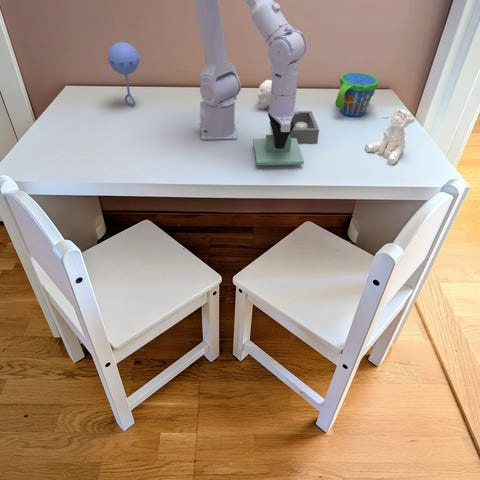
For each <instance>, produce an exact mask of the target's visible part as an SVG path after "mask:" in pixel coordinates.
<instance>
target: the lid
mask: <svg viewBox="0 0 480 480" xmlns="http://www.w3.org/2000/svg"><path fill="white" fill-rule="evenodd" d="M252 144H253V149H254V154H255V162H256V166H272V165H274V166H275V165H278V166H279V165H280V166H281V165H285V166H286V165H304V163H305V160H304V158H303V155H302V152H301V149H300V146H299V145H300V144H298V141H297V138H291V136H290V134H289V136H288V138H287V141H286V144H285V147H284V148H283V149H276V148H275V144H274V135H273V134H265V138H252Z"/></svg>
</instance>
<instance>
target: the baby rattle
mask: <svg viewBox="0 0 480 480" xmlns="http://www.w3.org/2000/svg"><path fill="white" fill-rule="evenodd" d="M107 61H108V64H109V65H110V67H111V68H112V69H113V70H114V72H116V73H118V74H120V75H123V76H124V78H125V84H126V90H127V93H126V95H125V97H124V102H125V104H126V105H130V106H131V107H135V106H136V100H135V98H134V97H133V96H132V94H131V93H130V86H129V78H128V75H131V74H132V73H134V72H135V71H136V70H137V69H138V67H139V64H140V54H139V53H138V52H137V49H136V48H135V47H134V46H133V45H132V44H130V43H128V42H123V41H120V42H115V44H112V45H111V47H110V49H109V50H108V54H107ZM128 98H130V99H131V101H132V102H131V101H128V100H127V99H128Z"/></svg>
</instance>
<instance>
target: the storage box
mask: <svg viewBox="0 0 480 480" xmlns="http://www.w3.org/2000/svg"><path fill="white" fill-rule="evenodd" d="M291 122H294V125H295V126H294V129H293V130H292V131H291V132H290V136H291V138H297V141H298V145H302V144H306V145H307V144H311V145H312V144H313V145H315V144H318V140H319V133H320V128H319V126H318V123H317V121H316V119H315V117H314V114H313V111H312V110H301V111H300V110H299V114H294V116H293V118H292V121H291Z"/></svg>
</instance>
